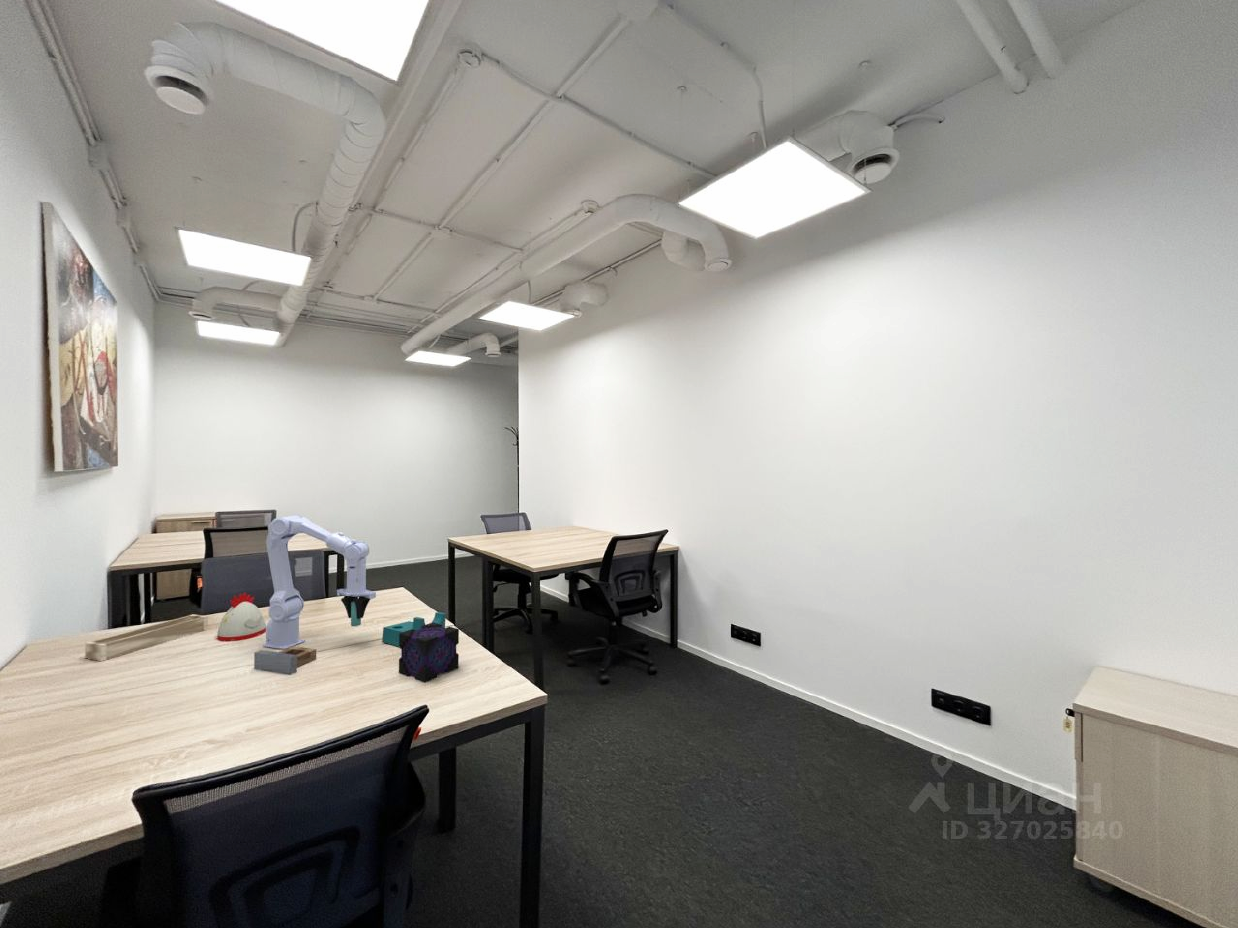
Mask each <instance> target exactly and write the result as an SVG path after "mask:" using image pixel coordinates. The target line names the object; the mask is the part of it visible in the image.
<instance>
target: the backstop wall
mask: <svg viewBox="0 0 1238 928" xmlns="http://www.w3.org/2000/svg"><path fill="white" fill-rule="evenodd" d="M279 652H280V651H271V650H263V649H260V650H257V651H254V655H253V656H254V658H253V659H254V660H253V661H254V663H253V669H254V670H259V671H266V672H271V673H277V674H285V675H293V674H295V673H297V671H298V667H297V655H293V654H286V653H279Z"/></svg>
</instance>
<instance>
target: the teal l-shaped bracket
mask: <svg viewBox="0 0 1238 928" xmlns="http://www.w3.org/2000/svg"><path fill="white" fill-rule="evenodd" d="M446 617H447V613H445V612H439V611H437V612H435V613H434V617H433V620H432V621H430V623H432V622H434V623H438V624H441V625H442V627H444V628H446ZM423 625H426V622H425V618H424V617H418V616H414V617H413V620H412V621H410V620H409V621H404V622H401V623H395V624H391V625H387V626H384V627H382V638H381V639H382V641H381V642H382V643H385V644H387V645H388V644H389V645H392V646H395V647H396V646H397V647H399V633H402V632H405V631H408V630H411V629H413V630H418V629H421V626H423Z"/></svg>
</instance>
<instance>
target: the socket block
mask: <svg viewBox="0 0 1238 928" xmlns="http://www.w3.org/2000/svg"><path fill="white" fill-rule="evenodd" d="M278 652H279V653H286V654H293V655H297V668H298V667H301V666H302V665H305V664H307V663H309V662H313V661H314V660H316V659H317V649H316V648H310V647H303V646H297V645H294V646H292V647H289V648H287V649H282V650H280V651H278Z"/></svg>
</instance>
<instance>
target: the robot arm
mask: <svg viewBox="0 0 1238 928" xmlns="http://www.w3.org/2000/svg"><path fill="white" fill-rule="evenodd" d="M267 530H268V533H267V537H266V539H265V543H266V544H265V545H266V550H267V556H268V562H269V563H268V564H269V568H270V569H269V570H270V573H271V579H272V580H271V581H272V584H273V585H272V587H273V592H274V593H273V595H272V596H271V597H270V598H269V608H268V616H269V618H270V620H269V621H268V622H267V623H266V632H265V644H263V645H262V646H263V647H265V648H273V649H280V650H286V649H288V648H291V647H293V646H297V645H300V644H302V643H304V642H306V639H302V638H300V615H301V612H302V610H304V607H305V602H304V599H303V598H302V597H301V595H300V591H298V590H297V589H296V588H295V586H294V582H293V577H292V575H293V574H292V570H291V569H292V568H291V565H290V559H289V553H288V552H289V551H288V547H287V543H288V542H290V541H291V540H292V538H293V537H295V536H296V535H297V534H305V535H308V536H309V537H312V538H313V539H314V538H315V539H317V540H319V541H322V542H323V543H325V545H326V548H328V549H330V550H332V551H334V552H336V553H337V554H340V555H342V556H343V557H344V559H345V561H346V588H340V589H336V596H338V597H339V596H343V597H342V598H341V599H340V601H341V603H342V604H343V606H344V607H345V610H346V613H347V616H348V619H351V602H352V601H354V602H355V605H356V614H357V619H361V620H362V619H364V615H365V612H366V609H367V606H368V604H369V603H370V601H371V600H373V599H375V598H377V592H376V591H372V590H368V589H367V586H366V584H367V579H366V578H367V556H368V555H369V553H370V547H369V545H368V544H367V543H365V541H357V539H352V538H350V537H348V536H345V533H344V532H341V531H340V532H338V531H337V532H333V533H331V532H330V531H328V530H326V529H325V528H323V527H322V526H319V525H318V524H316V523H314V522H312V521H310V519H309V518H307V517H303V516H302V515H301V514H293V515H288V516H283V517H275V518H274V519H273V520H272V521H271V522H270V523H269V524H268V525H267Z"/></svg>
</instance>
